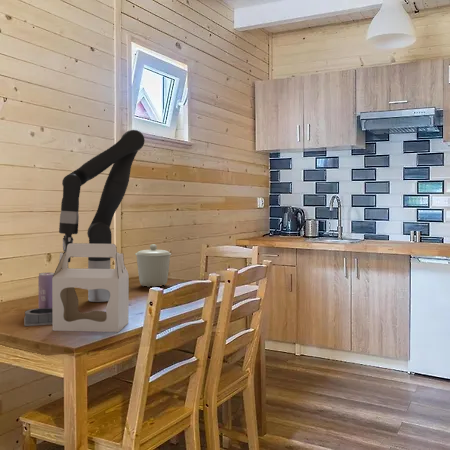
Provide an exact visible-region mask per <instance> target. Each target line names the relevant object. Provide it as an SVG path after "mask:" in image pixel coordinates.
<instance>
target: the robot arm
mask: <svg viewBox="0 0 450 450" xmlns="http://www.w3.org/2000/svg"><path fill="white" fill-rule="evenodd" d="M144 145H145V135H144V134H143V133H142V132H141V131H140V130H137V129H130V130H128V131H126V132H124V133H123V135H121V138H120V139H119V140H118V141H117V142H115V143H114V144H113V145H112V146H110V147H108V148H107V149H105V150H104V151H102V152H100V153H98V154H97V155H95V156H93V157H92V158H90V159H89V160H88V161H86V162H85V163H83V164H82V165H81V166H80V167H79V168H76V169H75V170H73V172H70V173H68V174H66V175H65V176H64V177H63V179H62V184H61V185H62V188H63V189H62V199H61V204H60V205H61V206H60V215H59V223H58V224H59V225H58V226H59V227H58V229H59V230H58V232H59V234H63V237H62V251H63V253H64V252H66V250H67V245H68V244H69V243H74V238H73V235H77V234H79V222H80V221H79V220H80V219H79V218H80V216H79V211H80V196H81V195H80V194H81V187H82V186H83V185H85V184H86V183H88V182H89V181H91V180H92V179H94V178H95V177H97V176H99V175H100V174H101V173H103V172H105V171H106V170H107V169H108V168H110V167H111V169H110V171H109V173H108V176H107V178H106V181H105V182H104V185H103V188H102V192H101V195H100V199H99V203H98V207H97V210H96V212H95V214H94V216H93V219H92V221H91V223H90V225H89V227H88V229H87V233H86V234H87V237H88V243H91V244H112V240H113V239H112V230H111V225H112V221H113V218H114V215H115V214H116V211H117V210H118V208H119V206H120V204H121V203H122V202H123V199H124V197H125V195H126V191H127V190H128V189H127V188H128V186H129V183H130V177H131V170H132V165H133V162H134V160H135V158H136V155H137V153H138V151H141V149H142V148H143V147H144ZM71 258H72V257H70V258H69V260H68V263H71ZM87 258H88V260H87V261H88V262H87V264H88V265H87V267H88V268H87V269H111V258H110V257H87ZM87 292H88V293H87V294H88V296H87V298H88V302H92V303H105V302H108V301H109V299H110V292H109V291H108V290H106V289H92V290H88V289H87Z"/></svg>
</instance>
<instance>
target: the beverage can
mask: <svg viewBox="0 0 450 450" xmlns="http://www.w3.org/2000/svg"><path fill="white" fill-rule="evenodd" d="M54 273H55V272H40V273H39V274H38V277H37V278H38V308H52V277H53V275H54Z"/></svg>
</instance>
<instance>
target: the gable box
mask: <svg viewBox="0 0 450 450" xmlns="http://www.w3.org/2000/svg"><path fill="white" fill-rule="evenodd" d="M70 257H71V258H88V257H110V259H114V268H110V269H88V268H73V267H71V268H69V262H68V260H69V258H70ZM58 260H59V261H58V262H59V263H58V265H57V266H56V269H55V271H54V272H53V273H54V275H53V277H52V323H53V324H52V331H53V332H55V331H56V332H84V333H85V332H89V333H90V332H91V333H92V332H95V333H97V332H99V333H119V332H121V330H123V329H124V328H125V327H126V326H127V325H128V324H129V272H128V270H127V268H126V265H125V258H124V253H119V252H118V251H117V245H116V244H115V243H111V244H91V243H89V242H87V243H83V242H81V243H80V242H79V243H78V242H75V243H74V242H73V243H69V244H68V245H67V250H66V252H64V251H63V252H60V253H59V259H58ZM76 288H77V289H82V290H87V291H88V290H92V289H106V290H108V291H109V292H110V299H109V301H107V304H106V308H105V311H103V310H91V311H88V312H81V311H79V298H78V295H77V292H76Z"/></svg>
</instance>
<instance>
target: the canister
mask: <svg viewBox="0 0 450 450" xmlns="http://www.w3.org/2000/svg"><path fill="white" fill-rule="evenodd" d="M157 248H158V246H157V244H154V243H153V244H150V245H149V249H142V250H139V251H137V252H136V253H135V254H134V255H135V256H136V262H137V272H138V273H137V274H138V280H139V283H140V285H141V286H142V287H144V286H147V287H146V288H151V287H150V286H154V287H153V288H156V287H155V286H160V285H164V286H166V285H165V284H167V283H168V279H169V270H170V261H171V256H172V252H170V251H168V250H164V249H157Z"/></svg>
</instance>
